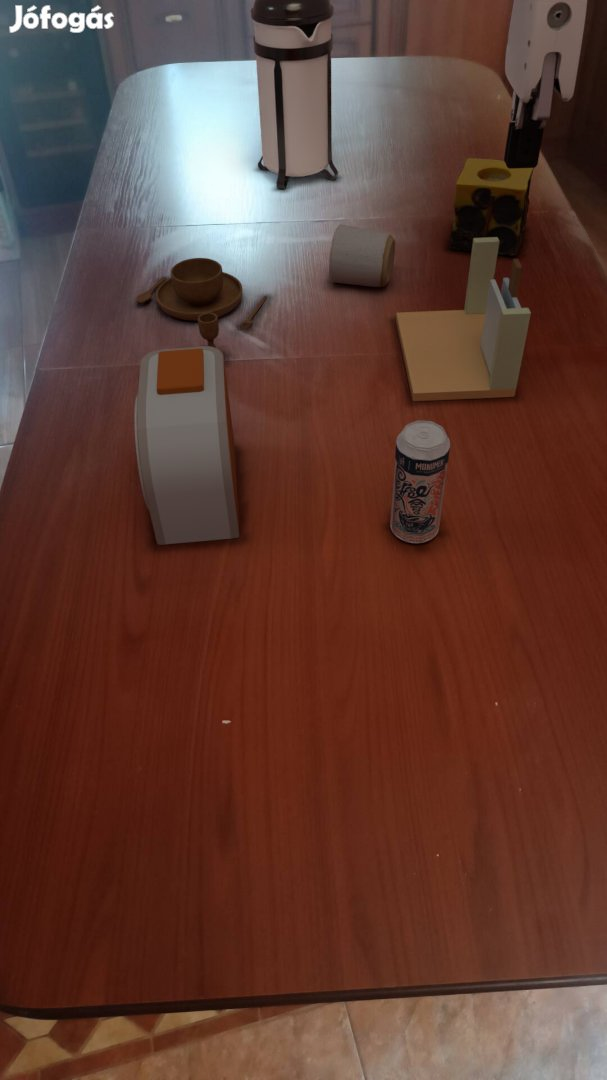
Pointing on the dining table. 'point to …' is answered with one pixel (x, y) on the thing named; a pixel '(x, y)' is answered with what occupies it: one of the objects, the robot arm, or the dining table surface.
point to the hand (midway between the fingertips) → (520, 164)
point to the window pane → (512, 286)
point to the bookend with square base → (466, 339)
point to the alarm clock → (186, 445)
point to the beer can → (419, 481)
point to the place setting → (199, 295)
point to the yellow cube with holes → (491, 205)
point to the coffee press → (294, 86)
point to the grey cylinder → (361, 256)
